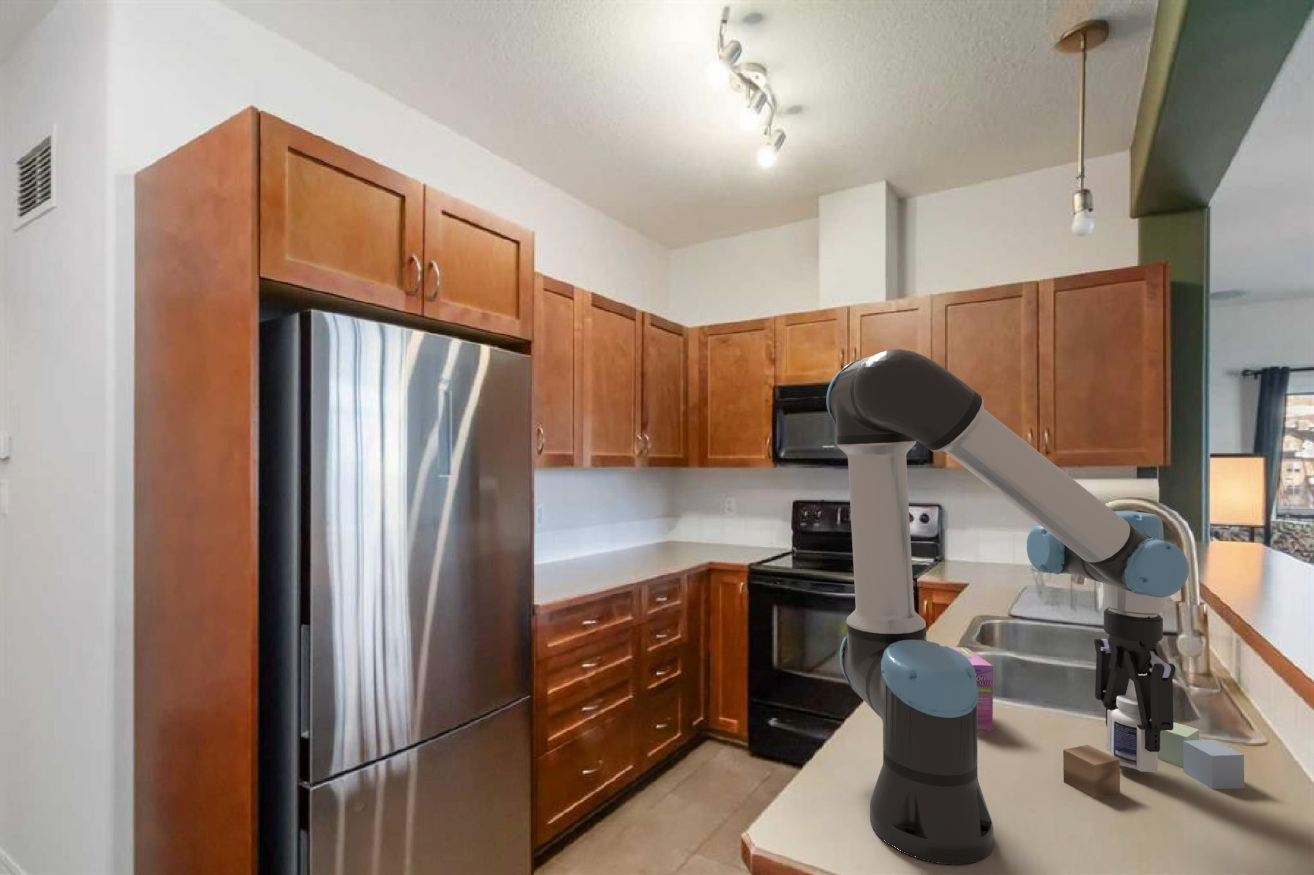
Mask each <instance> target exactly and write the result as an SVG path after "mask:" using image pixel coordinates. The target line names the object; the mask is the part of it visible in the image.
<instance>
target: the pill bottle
mask: <svg viewBox="0 0 1314 875" xmlns="http://www.w3.org/2000/svg"><path fill="white" fill-rule="evenodd" d="M1116 704H1117V707H1118V709H1115V710H1113V711H1112V713H1111V752H1110V755H1111V756H1113V757H1115V758H1117V759H1120V766H1123V767H1125V768H1129V769H1133V770H1137V725H1142V724H1141V718H1140V713H1139V708H1138V703H1137V697H1136V696H1132V695H1120V696H1117V701H1116ZM1150 721H1151V719H1150Z"/></svg>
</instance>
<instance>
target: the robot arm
mask: <svg viewBox="0 0 1314 875" xmlns="http://www.w3.org/2000/svg"><path fill="white" fill-rule="evenodd" d="M825 401H826V403H825V404H826V409H827V412H828V414H829V417H830V419H831V420H832V422H833V423H834V424H835V426H836V427H835V428H836V445H837V446H836V447H837V448H838V449H839V450H841V452H843V453H844V454H845V455H846V457H847V464H848V467H847V468H848V483H849V484H848V485H849V505H850V521H851V522H850V524H851V525H850V526H851V539H852V540H851V542H852V563H853V579H854V580H853V581H854V582H853V583H854V597H855V598H854V599H855V600H854V601H855V609H854V610H853V611H852V612H851V613H850V614H849V615H848V616H847V618H846V621H845V622H846V635H845V636H844V637H843V639H842V642H841V644H840V649H839V663H840V669H841V671H842V673H843V675H844V678H845V680H846V681H847V683H848V685H849V686H850V687H851V690H853V692H854V693H855V694H856V695H858V696H859V697H860V698H861V699H862V700H863V701H864V702H865V703H866V704H867V705H868V707H870V709H872V711H874V712H875V714H876V715H877V716H878V717H879V718H880V719H881V720H882V749H883V750H882V757H883V758H882V766H881V768H880V772H879V774H878V778H877V780H876V783H875V785H874V789H873V792H872V794H871V797H870V803H869V819H870V820H869V821H870V826H871V828H872V829H873V831H874V832H875V834H876V835H878V837H879V838H880V839H881V838H882V839H881V840H882V841H884V840H885V841H886V842H887V843H886V842H885V841H884V842H885V843H886V844H888V843H889V844H890V845H889V844H888V845H889V846H891V845H893V846H895V847H896V848H898V849H899V850H901V851H903V852H905V853H908V854H909V855H908V854H907V855H908V856H910V855H912V856H911V857H913V856H916V857H918V858H917V859H919V858H920V859H919V860H922V859H925V860H924V861H926V860H929V861H928V862H930V861H933V862H932V863H935V862H939V863H938V864H942V863H944V864H943V865H964V864H971V863H975V862H978V861H981V860H983V859H984V858H986V857H987V856H989V855H990V853H991V852H992V850H993V848H994V826H993V821H992V818H991V815H990V812H989V809H988V806H987V804H986V801H985V797H984V794H983V791H982V788H981V785H980V783H979V779H978V731H977V702H978V696H979V694H978V686H977V682H976V673H975V670H974V667H973V665H972V664H971V662H970V661H969V660H968V659H967V658H966V657H965V656H964V655H962V654H961V653H959V652H958V651H956V650H954V649H952V648H950V647H951V646H947V645H944V646H943V645H940V643H937V642H934V641H930V640H928V641H927V639H928V637H927V625H926V624H927V623H926V620H925V619H924V618H923V617H922V616H920V615H919V614H918V613H917V612H916V610H915V600H914V599H915V598H914V580H913V564H912V563H913V559H912V544H911V542H912V540H911V524H910V523H911V522H910V520H911V519H910V507H909V506H910V504H909V487H908V467H907V466H908V465H907V454H908V452H910V450H911V449H912V448H914V446H915V445H916V443H917V442H919V443H921V445H923V446H924V447H925V448H927V449H928V450H930V451H931V452H933V453H936V452H944V453H946V454H947V455H948V456H950V457H951V458H952V459H954V461H956V462H957V463H958V464H959V465H961V466H962V467H964V468H965V469H966V470H968V471H969V472H970V473H972V474H973V475H974V476H975V477H976V478H978V479H979V480H980V481H982V483H984V484H986V485H987V486H988V487H989V488H991V489H992V490H993V491H995V493H997V494H998V495H999V496H1001V497H1002V498H1004V499H1005V500H1006V501H1007V502H1008V503H1010V504H1011V505H1013V506H1014V507H1015V508H1016V509H1018V510H1019V511H1020V512H1021V513H1023V514H1024V515H1025V516H1027V517H1028V518H1029V519H1031V520H1032V521H1033V522H1034V523H1036V524H1037V525H1036V526H1034V527H1032V529H1031V530H1030V531H1029V534H1028V536H1027V539H1026V553H1027V554H1026V555H1027V557H1028V560H1029V562H1030V563H1031V565H1032V566H1033V568H1034V569H1035V570H1037V571H1039V572H1041V573H1043V574H1044V573H1045V574H1046V573H1047V574H1055V575H1060V574H1068V575H1069V574H1070V575H1075V576H1078V577H1081V578H1084V579H1089V580H1091V581H1094V582H1098V583H1102V584H1103V599H1102V600H1103V605H1104V606H1105V607H1106V608H1105V610H1103V631H1104V633H1106V634H1107V635H1108V638H1096V639H1094V647H1095V652H1096V657H1095V659H1096V660H1095V684H1094V685H1095V686H1094V691H1095V692H1094V696H1095V699H1096V700H1098V701H1101V702H1102V704H1103V707H1104V708H1105V725H1106V751H1107V752H1109V753H1111V713H1112V711H1113V710H1115V709H1118V707H1117V704H1116V701H1117V696H1120V695H1125V696H1127V691H1128V687H1129V682H1130V680H1131V681H1132V682H1133V687H1134V691H1135V697H1137V703H1138V708H1139V713H1140V718H1141V724H1142V725H1137V769H1136V770H1138V771H1139V772H1158V768H1159V767H1158V764H1159V763H1158V761H1159V759H1158V752H1159V750H1160V732H1161V730H1173V728H1174V727H1173V722H1174V689H1173V687H1174V685H1173V684H1174V683H1173V682H1174V681H1173V679H1174V677H1175V674H1176V670H1177V669H1176V666H1175V664H1174V663H1166V662H1165V661H1164V660H1162V659H1161V658H1160V653H1159V650H1158V646H1157V645H1158V643H1159V642H1160V641H1162V640H1163V639H1164V638H1163V637H1164V636H1163V635H1164V619H1163V617H1162V616H1161V615H1160V614H1161V613H1163V610H1164V605H1163V604H1164V603H1163V602H1164V598H1168V597H1170V596H1171V597H1172V596H1174V595H1176V594H1177V593H1178V592H1179V591H1181V589H1182V588H1183V587H1184V585H1185V583H1186V582H1187V581H1188V578H1189V574H1190V566H1189V561H1188V558H1187V556H1186V554H1185V553H1184V552H1183V550H1182V549H1181V548H1180V547H1178V545H1175V544H1173V543H1172V542H1169V541H1165V534H1164V524H1163V520H1162V518H1161V517H1160V516H1159V515H1157V514H1154V513H1149V512H1139V511H1127V510H1126V511H1125V510H1124V511H1123V510H1117V511H1116V510H1115V511H1114V510H1113V509H1112V508H1110V507H1109V506H1108V505H1107V504H1106V503H1104V502H1102V500H1100V499H1099V498H1098V497H1096V496H1095V495H1094V494H1093V493H1091V492H1090V491H1089V490H1088V489H1086V487H1084V486H1082V484H1080V483H1079V482H1078V481H1076V480H1075V479H1074V478H1073V477H1071V475H1069V474H1067V473H1066V472H1065V471H1064V470H1062V469H1061V468H1060V467H1059V466H1057V465H1056V464H1055V463H1053V462H1052V461H1051V460H1050V459H1048V458H1047V457H1046V456H1044V455H1043V454H1042V453H1041V452H1039V451H1038V450H1037V449H1036V448H1034V446H1032V445H1031V444H1029V443H1028V442H1027V441H1026V440H1025V439H1023V438H1022V437H1021V436H1020V435H1018V434H1017V433H1016V432H1014V431H1013V430H1012V429H1011V428H1010V427H1008V426H1006V425H1005V424H1004V423H1003V422H1001V421H1000V420H999V419H998V418H997V417H995V416H994V415H992V413H990V412H989V411H988V410H986V409H985V401H984V397H983V396H981V394H979V393H978V392H976V390H974V389H973V388H972V387H970V386H969V385H968V384H966V383H965V382H964V381H963V380H961V379H960V378H959V377H957V376H956V375H955V374H953V373H952V372H950V371H949V370H948V369H946V368H945V367H943V366H941V365H940V364H938V363H937V362H936V361H934V360H932V359H931V358H929V357H927V356H925V355H923V354H920V353H918V352H915V351H911V350H908V349H901V348H899V349H898V348H896V349H895V348H894V349H887V350H883V351H881V352H878V353H876V354H873V355H871V356H867V357H864V358H863V357H862V358H859V359H857V360H854V361H852V362H850V363H848V364H847V365H846V366H844V367H843V368H842V369H841V370H839V371H838V372H837V373H836V374H835V375H834V377H833V378H832V380H831V381H830V384H829V385H828V388H827V392H826V400H825ZM1150 719H1151V721H1150ZM896 848H895V849H896ZM899 850H898V851H899ZM901 851H900V852H901ZM903 852H902V853H903ZM905 853H904V854H905ZM916 857H915V858H916ZM945 863H946V864H945Z"/></svg>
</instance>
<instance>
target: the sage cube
mask: <svg viewBox="0 0 1314 875" xmlns="http://www.w3.org/2000/svg"><path fill="white" fill-rule="evenodd" d="M1173 727H1174V728H1173V730H1161V732H1160V750H1159V752H1158V760H1160V761H1164V762H1167V763H1169V764H1172V765H1176V766H1178V767H1181V768H1183V741H1188V740H1200V729H1199V728H1194V727H1192V726H1189V725H1185V724H1181V723H1179V722H1174V721H1173Z"/></svg>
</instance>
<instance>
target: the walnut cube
mask: <svg viewBox="0 0 1314 875" xmlns="http://www.w3.org/2000/svg"><path fill="white" fill-rule="evenodd" d="M1062 750H1063V753H1062V756H1063V760H1062V762H1063V763H1062V764H1063V768H1062V770H1063V783H1064V784H1067V785H1068V786H1069V787H1072V788H1074V789H1075V790H1078V791H1079V792H1081V793H1083V794H1085V795H1086V796H1089V797H1090V798H1092V799H1093V800H1096V799H1100V798H1105V797H1106V798H1107V797H1109V796H1114V795H1118V794H1121V770H1120V769H1121V764H1120V759H1117V758H1115V757H1113V756H1111V754H1109V753H1106V752H1104V751H1103V750H1100V749H1098V748H1096V747H1094V746H1093V745H1089V744H1085V745H1079V746H1075V747H1069V748H1065V749H1062Z"/></svg>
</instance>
